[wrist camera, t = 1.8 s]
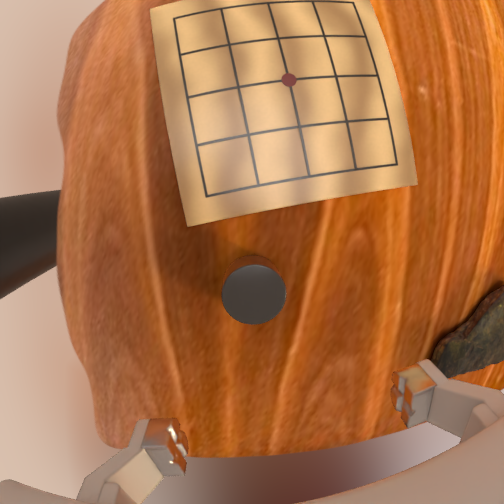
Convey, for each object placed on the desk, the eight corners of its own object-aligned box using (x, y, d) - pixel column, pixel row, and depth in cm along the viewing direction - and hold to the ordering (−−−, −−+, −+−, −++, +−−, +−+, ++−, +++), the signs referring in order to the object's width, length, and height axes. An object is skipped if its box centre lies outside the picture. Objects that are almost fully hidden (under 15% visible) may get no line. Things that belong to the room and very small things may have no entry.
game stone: (229, 314, 27) (229, 330, 24) (216, 261, 25) (214, 271, 22) (285, 303, 27) (290, 317, 24) (275, 249, 25) (280, 258, 23)
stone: (422, 377, 30) (434, 390, 27) (441, 291, 27) (457, 300, 24) (506, 345, 31) (517, 354, 28) (524, 274, 29) (538, 280, 26)
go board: (190, 224, 25) (187, 227, 23) (153, 16, 20) (149, 8, 18) (409, 184, 25) (418, 184, 23) (359, -4, 20) (365, -11, 18)
